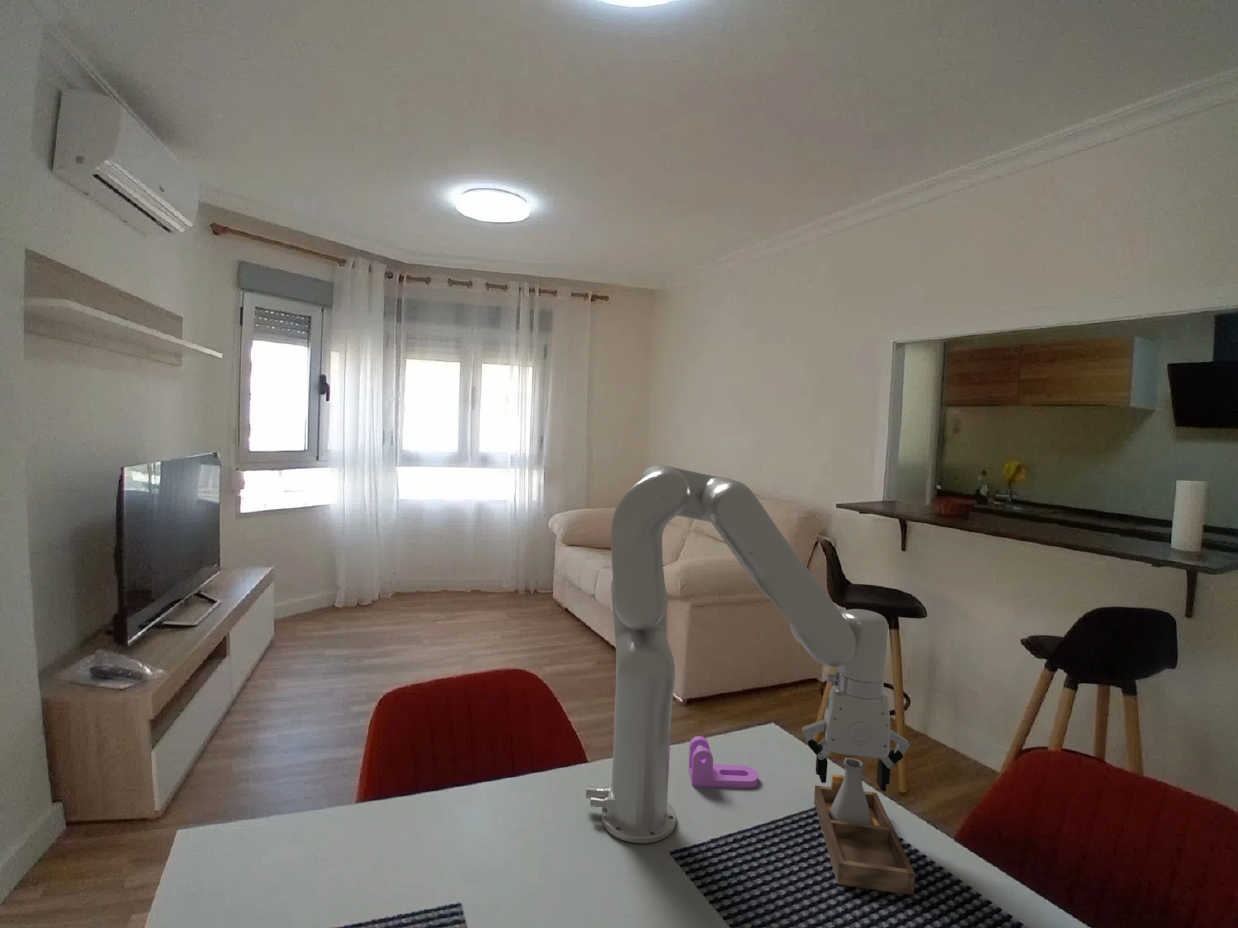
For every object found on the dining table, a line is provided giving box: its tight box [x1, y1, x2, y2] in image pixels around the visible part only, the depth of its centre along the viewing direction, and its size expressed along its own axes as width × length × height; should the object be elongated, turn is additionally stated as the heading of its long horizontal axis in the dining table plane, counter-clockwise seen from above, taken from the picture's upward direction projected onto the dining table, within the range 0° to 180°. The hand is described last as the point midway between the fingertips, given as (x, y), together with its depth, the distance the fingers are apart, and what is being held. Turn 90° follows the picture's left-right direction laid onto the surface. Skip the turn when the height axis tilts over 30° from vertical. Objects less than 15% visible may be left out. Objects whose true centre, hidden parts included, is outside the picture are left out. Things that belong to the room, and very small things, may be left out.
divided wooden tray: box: [813, 773, 916, 896], centre depth 98 cm, size 11×20×6 cm, turn 171°
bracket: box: [687, 735, 759, 789], centre depth 116 cm, size 13×6×7 cm, turn 91°
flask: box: [829, 757, 873, 825], centre depth 103 cm, size 7×7×10 cm
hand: (851, 782), depth 103 cm, fingers open, 9 cm apart
